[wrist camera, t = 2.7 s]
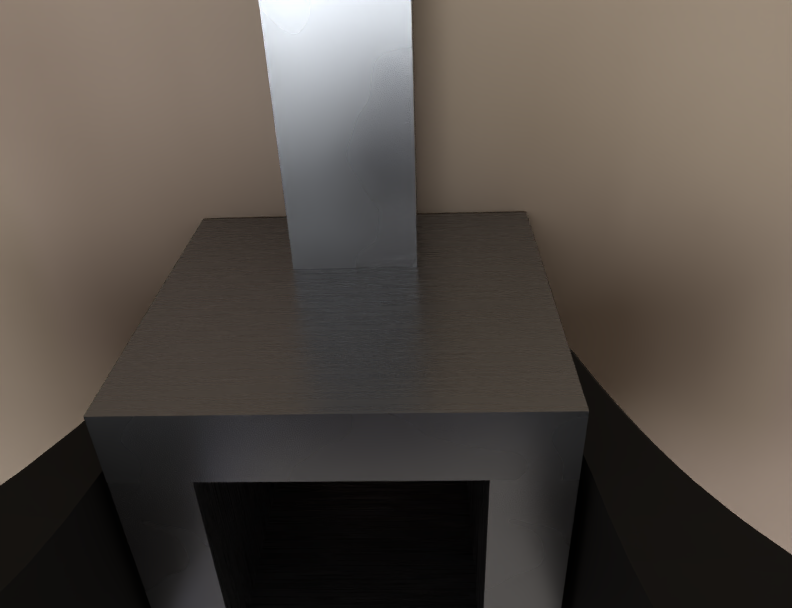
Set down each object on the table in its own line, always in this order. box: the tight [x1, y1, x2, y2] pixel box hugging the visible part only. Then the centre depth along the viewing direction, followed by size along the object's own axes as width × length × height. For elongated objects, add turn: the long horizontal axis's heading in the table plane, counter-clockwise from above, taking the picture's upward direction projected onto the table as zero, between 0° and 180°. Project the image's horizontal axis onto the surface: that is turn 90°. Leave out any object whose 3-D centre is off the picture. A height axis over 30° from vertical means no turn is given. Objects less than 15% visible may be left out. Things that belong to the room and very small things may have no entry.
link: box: [84, 0, 589, 608], centre depth 10 cm, size 5×9×5 cm, turn 2°
